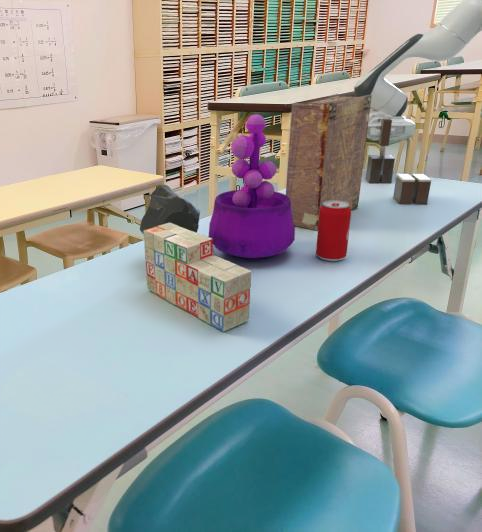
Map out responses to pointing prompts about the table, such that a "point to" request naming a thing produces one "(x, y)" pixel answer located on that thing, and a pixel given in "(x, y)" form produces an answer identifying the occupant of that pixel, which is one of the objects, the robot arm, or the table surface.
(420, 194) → the brown wooden cube
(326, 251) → the beverage can
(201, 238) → the stack of blocks
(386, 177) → the knife holder
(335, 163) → the book
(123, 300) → the table surface
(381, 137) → the knife
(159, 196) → the dark grey faceted rock
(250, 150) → the decorative plant
